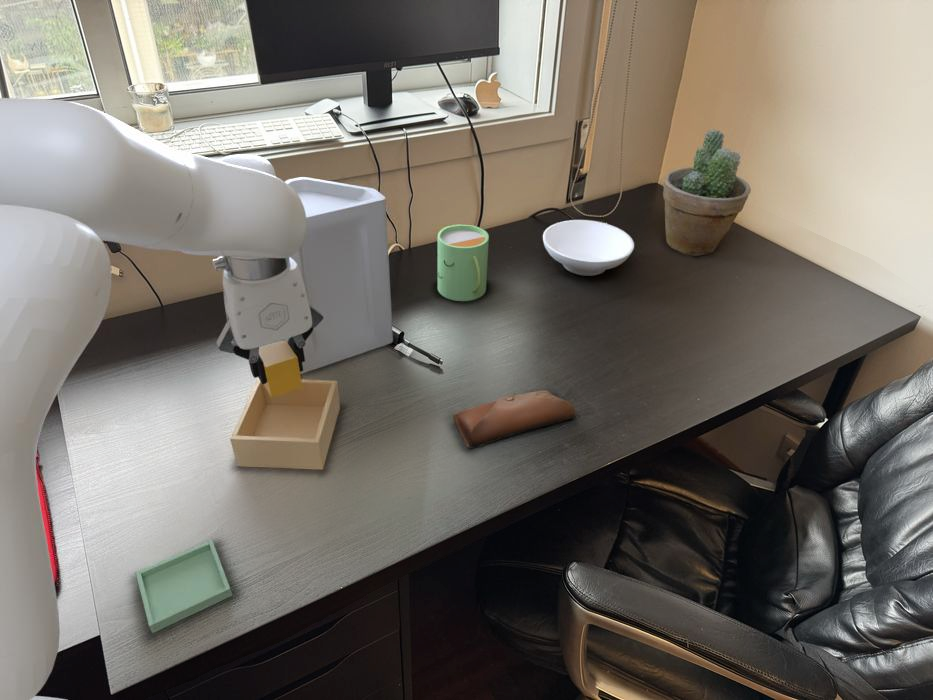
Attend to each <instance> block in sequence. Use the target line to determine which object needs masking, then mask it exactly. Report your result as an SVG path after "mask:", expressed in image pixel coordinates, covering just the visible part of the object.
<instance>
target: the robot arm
mask: <svg viewBox="0 0 933 700" xmlns="http://www.w3.org/2000/svg"><path fill="white" fill-rule="evenodd" d="M306 228H307V221H306V213H305V210H304V206H303V204H302V201H301V199H300V197H299V196H298V194H297V193H296V192H295V190H294V189H293V188H292V187H291V186H289V185H288V184H287V183H285V181H284V180H282V179H281V178H279V177H277V174H276V171H275V168H274V166H273V164H272V163H271V162H270V161H269V160H268V159H266V158H264V157H262V156H259V155H255V154H245V153H244V154H232V155H228V156H227V155H226V156H224V157H221V158H218V159H213V158H210V157H206V156H203V155H199V154H195V153H190V152H186V151H180V150H177V149H174V148H172V147H170V146H168V145H166V144H164V143H162V142H161V141H159V140H157V139H154V138H153V137H150V136H149V135H147V134H146V133H144V132H141V131H140V130H138V129H136V128H135V127H132V126H130V125H128V124H127V123H125V122H123V121H121V120H119V119H117V118H116V117H114V116H112V115H109V114H107V113H105V112H103V111H101V110H98V109H97V108H93V107H91V106H89V105H85V104H81V103H78V102H73V101H68V100H63V99H50V98H49V99H48V98H20V97H19V98H17V97H16V98H15V97H12V98H11V97H0V700H67V699H66V698H60V697H51V696H41V695H37V694H38V693H39V692H40V691H41V690H42V689H43V687H44V686H45V684H46V683H47V681H48V679H49V677H50V675H51V673H52V671H53V669H54V666H55V662H56V659H57V655H58V652H59V647H60V634H61V633H60V632H61V631H60V629H61V628H60V614H59V613H60V612H59V604H58V597H57V591H56V585H55V580H54V579H55V578H54V573H53V569H52V568H53V567H52V562H51V556H50V550H49V546H48V540H47V533H46V528H45V523H44V516H43V512H42V511H43V510H42V506H41V500H40V493H39V484H38V474H37V453H38V443H39V439H40V435H41V432H42V429H43V426H44V423H45V419H46V417H47V415H48V413H49V411H50V409H51V407H52V405H53V403H54V401H55V399H56V397H57V396H58V394H59V392H60V390H61V388H62V386H63V385H64V383H65V381H66V379H67V378H68V376H69V374H70V373H71V371H72V369H73V368H74V366H75V364H77V361H78V360H79V358H80V357H81V355H82V354H83V352H84V351H85V349H86V347H87V346H88V344H89V343H90V342H91V340H92V339H93V338H94V336H95V334H96V332H97V331H98V329H99V327H100V325H101V324H102V322H103V320H104V317H105V315H106V312H107V310H108V309H107V308H108V305H109V302H110V297H111V291H112V264H111V260H110V255H109V252H108V249H107V247H106V245H105V242H110V243H111V242H112V243H118V244H123V245H128V246H134V247H139V248H145V249H150V250H158V251H172V252H180V253H183V254H186V255H191V256H197V257H198V256H199V257H217V258H215V259H212V260H211V261H212V266H213V268H214V270H215V272H216V271H221V270H222V292H223V302H224V309H225V311H224V312H225V316H226V317H225V318H226V323H225V325H224V326H223V329H222V331H221V333H220V334H219V336H218V338H217V340H216V343H215V344H216V347H217V349H218V350H219V351H220V352H225V353H229V354H234V355H236V356H238V357H240V358H243V359H245V360H247V361H248V364H249V368H250V372H251V375H252V377H253V379H255V378H259V379H260V381H261V383H262V384H266V382H267V379H266V374H265V369H264V363H263V360H262V359H261V357H260V355H259V348H262V347H265V346H268V345H272V344H275V343H278V342H282V340H284V339H287V338H289V339H288V340H289V341H288V344H289V346H290V347H291V349H292V350H293V352H294V353H295V354H296V356H297V358H298V364H299V370H300V372H301V371H303V365H302V362H305V356H304V350H303V347H304V346H305V344H306V343H305V341H306V340H307V338H308V337H309V336H310V334H311V333H312V332H313V328H314V327H316V326H317V325H318V324H319V323H320V322H321V321H322V320H323V316H322V314H321V313H320V312H319V311H318V310H317V309H315V308H314V307H313V306H311V305H310V304H309V302H308V298H307V294H306V290H305V286H304V283H303V279H302V276H301V273H300V270H299V268H298V266H297V263H296V262H295V261H294V260H293V259H292V258H290V257H291V256H293V255H294V254H295V253H297V252H298V250H299V249H300V248H301V246H302V244H303V242H304V239H305V235H306ZM104 241H105V242H104ZM305 317H306V318H305ZM290 337H291V338H290ZM233 339H234V341H233Z"/></svg>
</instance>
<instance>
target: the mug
mask: <svg viewBox="0 0 933 700" xmlns="http://www.w3.org/2000/svg"><path fill="white" fill-rule="evenodd" d="M489 241H490V237H489V233H488V232H487V231H486V230H485V229H483V228H481V227H479V226H477V225H472V224H452V225H449V226H446V227H445V226H444V227H443V228H442V229H440V230H439V231H438V233H437V247H436V249H435V256H437V291H438V293H439V294H440V295H441V296H442V297H444V298H445V299H448V300H451V301H457V302H469V301H474V300H477V299H479V298H481V297H482V296H484V294H485V293H486V292H487V291H486V290H487V279H488V278H487V277H488V260H489V258H488V257H489Z"/></svg>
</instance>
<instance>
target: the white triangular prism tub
mask: <svg viewBox="0 0 933 700" xmlns="http://www.w3.org/2000/svg"><path fill="white" fill-rule="evenodd" d="M284 182H285V183H287V184H288V185H289V186H291V187H292V188H293V189H294V190H295V192H296V193H297V194H298V196H299V197H300V199H301V201H302V204H303V206H304V210H305V213H306V221H307V228H306V235H305V239H304V242H303V244H302V246H301V248H300V249H299V250H298V252H297V253H295V254H294V255H293V256H291V257H290V258H292V259H293V260H294V261H295V262H296V263H297V266H298V268H299V270H300V273H301V276H302V279H303V283H304V286H305V290H306V294H307V298H308V302H309V304H310V305H311V306H313V307H314V308H315V309H317V310H318V311H319V312H320V313H321V314H322V316H323V320H322V321H321V322H320V323H319V324H318V325H317V326H316V327H314V328H313V332H312V333H311V334H310V336H309V337H308V338H307V340H306V341H305V343H306V344H305V346H304V347H303V350H304V356H305V362H302V365H303V371H301V372H300V375H302V374H305V373H308V372H311V371H313V370H318V369H320V368H323V367H326V366H329V365H332V364H335V363H337V362H340V361H344V360H346V359H349V358H352V357H355V356H358V355H360V354H363V353H366V352H369V351H372V350H376V349H377V348H381V347H384V346H387V345H390V344H392V343H393V342H394V335H393V334H394V333H393V313H392V298H391V295H392V294H391V278H390V258H389V239H388V222H387V221H388V219H387V203H386V200H387V199H386V196H385V195H383V194H382V193H381V192H380V191H378V190H377V189H375V188H372V187H366V186H361V185H356V184H355V185H354V184H349V183H342V182H337V181H331V180H326V179H325V180H324V179H318V178H313V177H307V176H300V177H299V176H298V177H294V178H289V179H287V180H285V181H284ZM305 318H306V317H305ZM290 338H291V337H290ZM288 339H289V338H287V339H284V340H281V342H282V341H285V340H286V341H287V342H288V341H289V340H288Z"/></svg>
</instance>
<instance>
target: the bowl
mask: <svg viewBox="0 0 933 700" xmlns="http://www.w3.org/2000/svg"><path fill="white" fill-rule="evenodd" d="M542 241H543V246H544V248H545V250H546V251H547V253H548V254H549V256H550V257H551V258H552V259H553V260H555V261H556V262H558V263H560V264H562V266H563V268H564V269H566V271H568V272H570V273H572V274H576V275H579V276H588V277H589V276H597V275H601V274H603V273H604V272H605V271H606V270H611V269H614V268H616V267H618V266H620V265H622V264H623V263H624V262H626V260H628V259H629V257H630V256H631V254H632V253H633V251H634V249H635V242H634V240H633V238H632V237H631V235H630V234H628V233H627V232H626V231H625V230H623V229H621V228H619V227H617V226H614V225H612V224H609V223H606V222H601V221H596V220H590V219H570V220H564V221H560V222H559V221H558V222H556V223H554V224H551V225H550V226H548V227H547V228H546V229H545V230H544V231H543V234H542Z"/></svg>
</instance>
